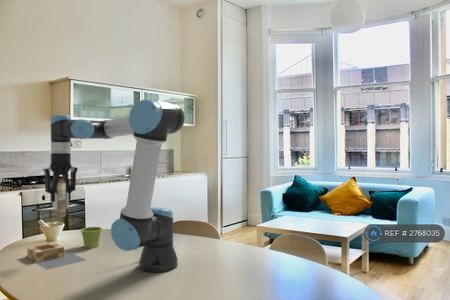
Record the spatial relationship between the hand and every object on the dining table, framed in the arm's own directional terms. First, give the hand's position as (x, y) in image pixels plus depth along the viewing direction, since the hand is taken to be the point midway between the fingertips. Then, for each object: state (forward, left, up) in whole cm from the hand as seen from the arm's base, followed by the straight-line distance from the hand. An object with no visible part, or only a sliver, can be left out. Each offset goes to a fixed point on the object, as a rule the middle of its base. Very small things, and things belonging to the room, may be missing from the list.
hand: (60, 208), depth 159 cm
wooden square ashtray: (+8, +3, -21) cm, 22 cm away
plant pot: (+9, -18, -22) cm, 29 cm away
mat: (+3, +1, -21) cm, 22 cm away
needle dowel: (0, 0, -3) cm, 3 cm away
